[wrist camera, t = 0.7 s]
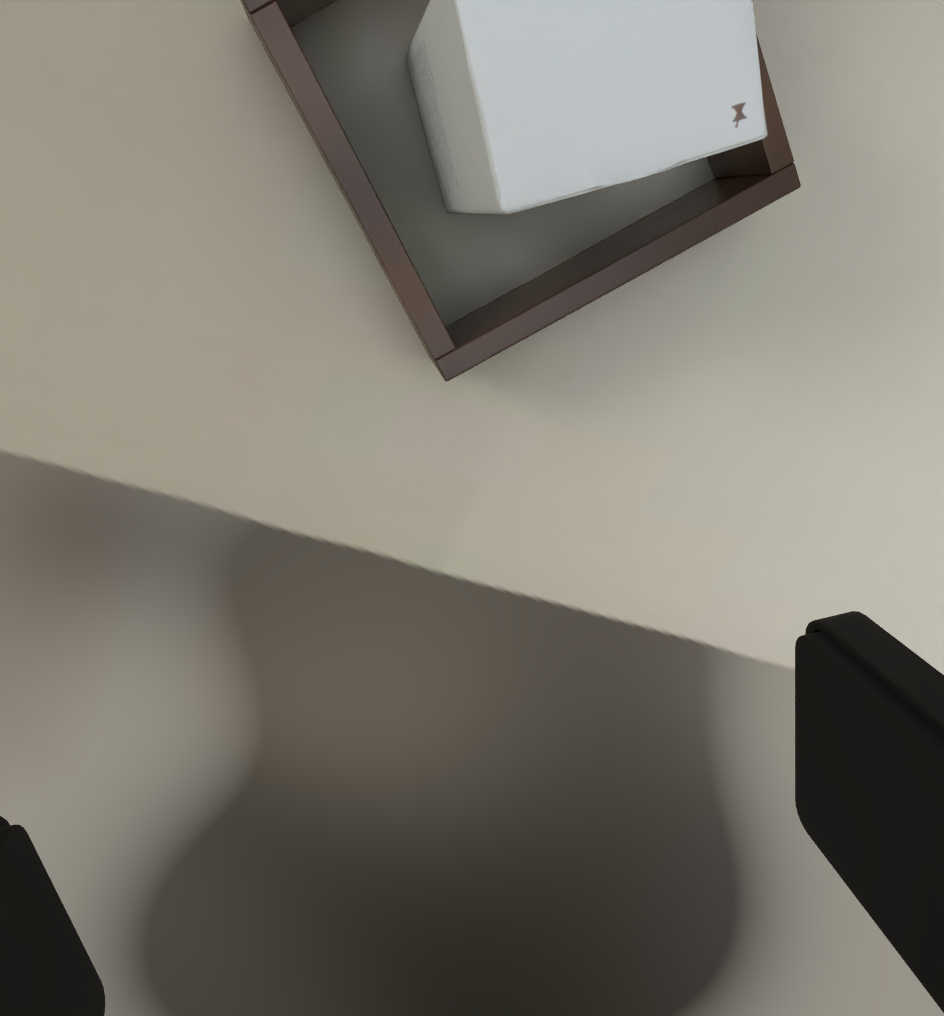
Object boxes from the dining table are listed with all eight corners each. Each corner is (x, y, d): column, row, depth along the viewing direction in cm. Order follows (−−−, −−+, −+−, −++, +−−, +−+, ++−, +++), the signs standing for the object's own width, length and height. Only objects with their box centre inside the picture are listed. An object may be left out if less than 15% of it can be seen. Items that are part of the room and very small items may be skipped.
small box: (590, -2, 32) (748, -128, 20) (619, 163, 34) (775, 141, 22) (399, 52, 31) (440, -43, 19) (442, 216, 34) (503, 222, 22)
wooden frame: (247, 16, 30) (232, -18, 25) (616, -194, 30) (668, -268, 25) (431, 360, 36) (445, 382, 31) (740, 189, 35) (802, 186, 31)
